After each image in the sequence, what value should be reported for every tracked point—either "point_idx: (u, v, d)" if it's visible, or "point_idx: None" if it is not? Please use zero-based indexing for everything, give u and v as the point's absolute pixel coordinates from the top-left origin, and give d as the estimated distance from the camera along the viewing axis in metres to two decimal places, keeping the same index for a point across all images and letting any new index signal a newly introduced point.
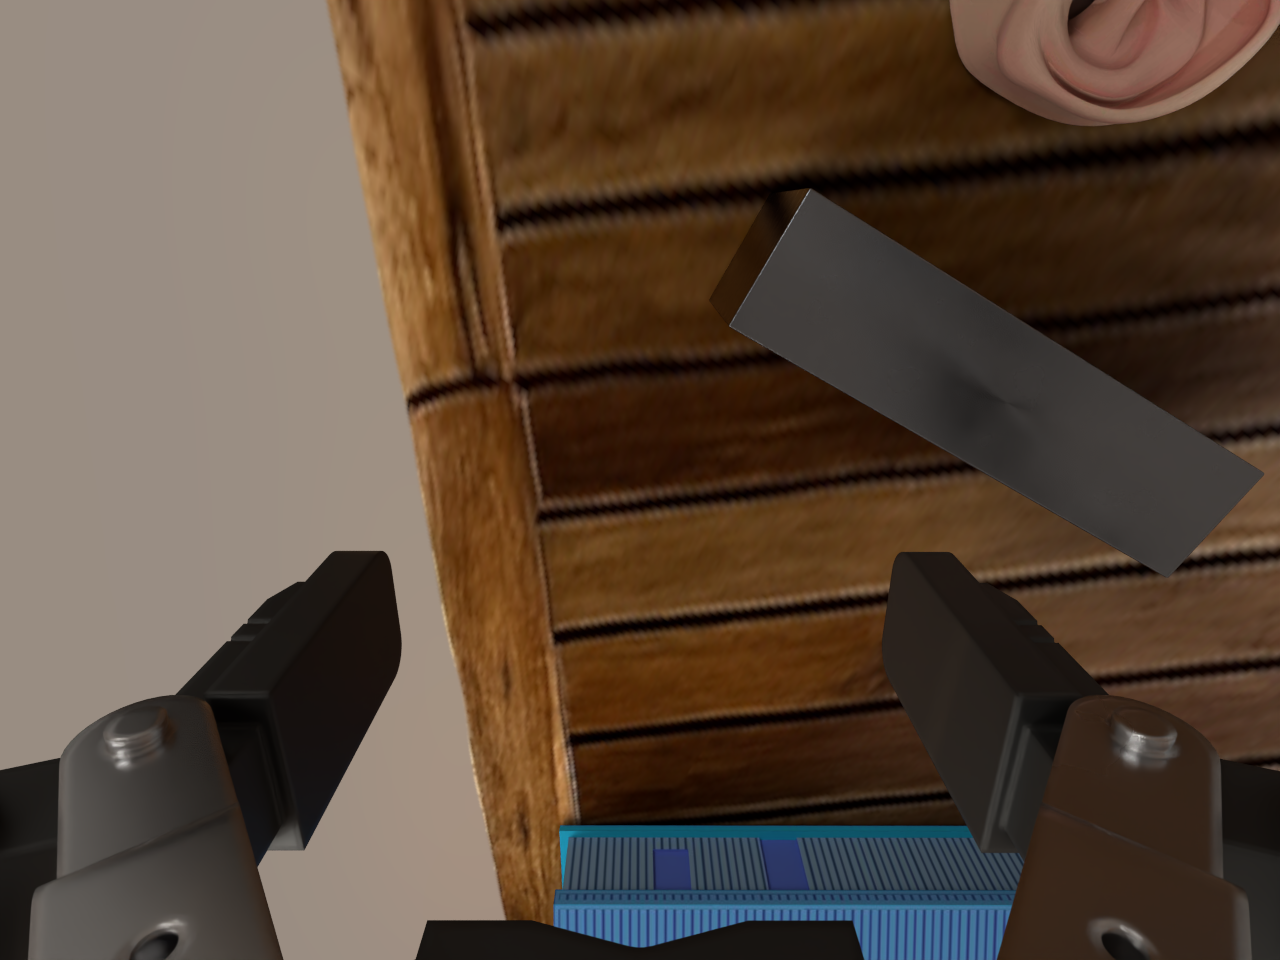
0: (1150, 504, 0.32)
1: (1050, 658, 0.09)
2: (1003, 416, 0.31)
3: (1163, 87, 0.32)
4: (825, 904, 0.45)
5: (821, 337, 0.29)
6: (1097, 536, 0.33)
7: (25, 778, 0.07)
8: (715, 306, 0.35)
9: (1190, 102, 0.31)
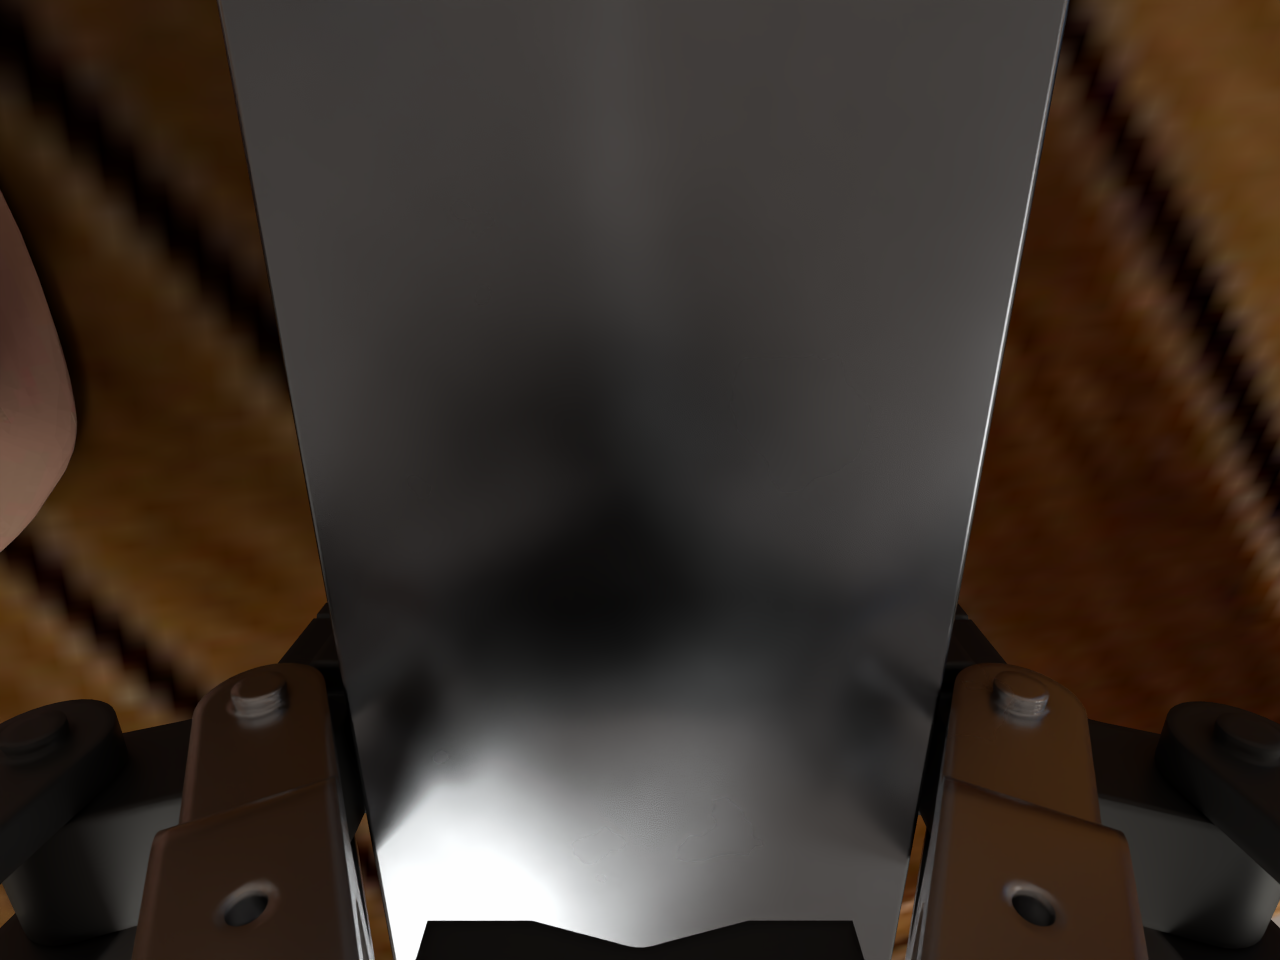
0: None
1: (961, 633, 0.09)
2: None
3: None
4: None
5: (786, 785, 0.08)
6: None
7: (153, 739, 0.07)
8: None
9: None
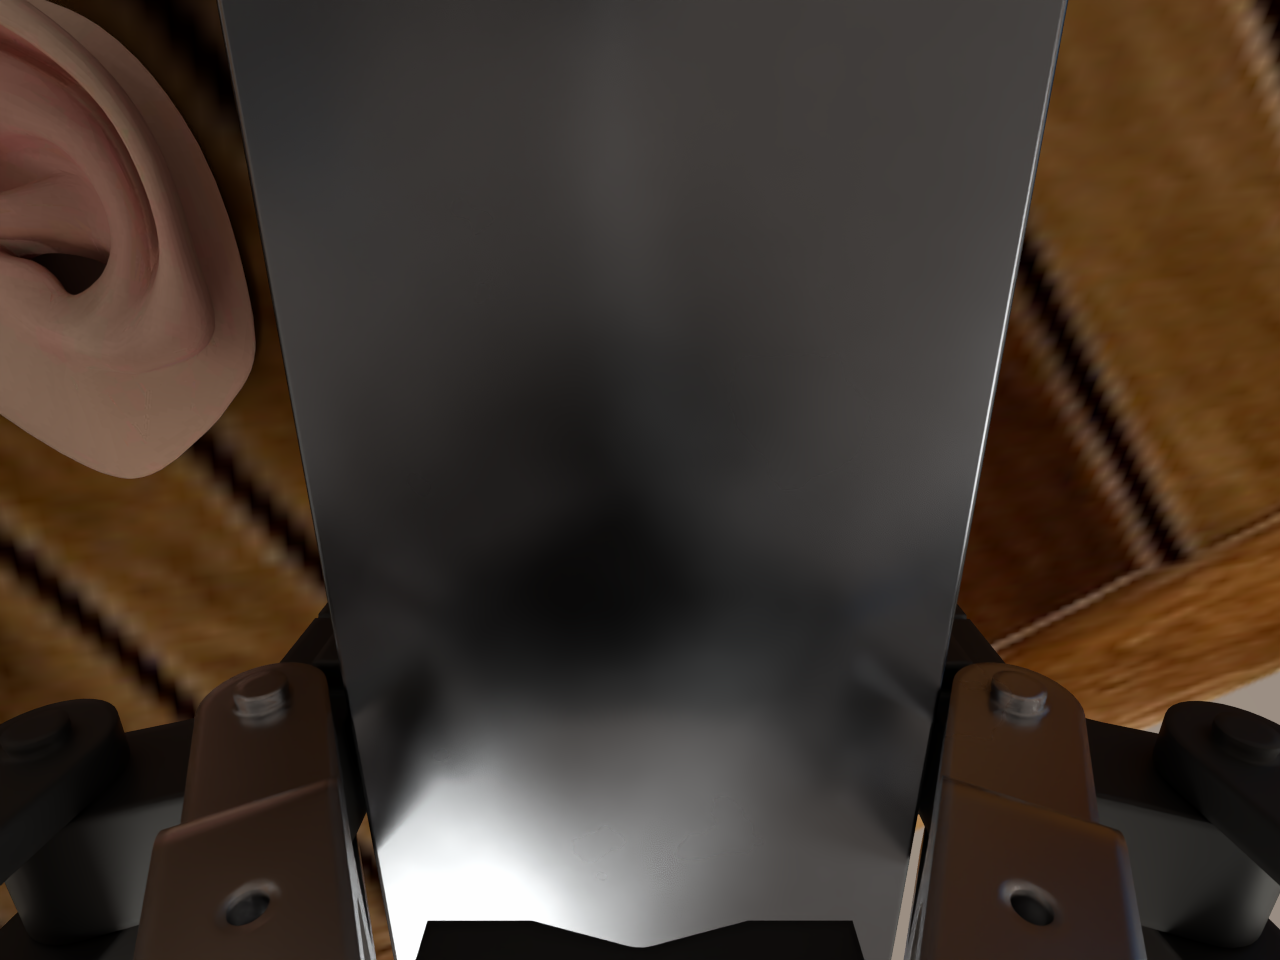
0: None
1: (959, 633, 0.09)
2: None
3: (27, 47, 0.17)
4: None
5: (787, 785, 0.08)
6: None
7: (154, 739, 0.07)
8: None
9: None
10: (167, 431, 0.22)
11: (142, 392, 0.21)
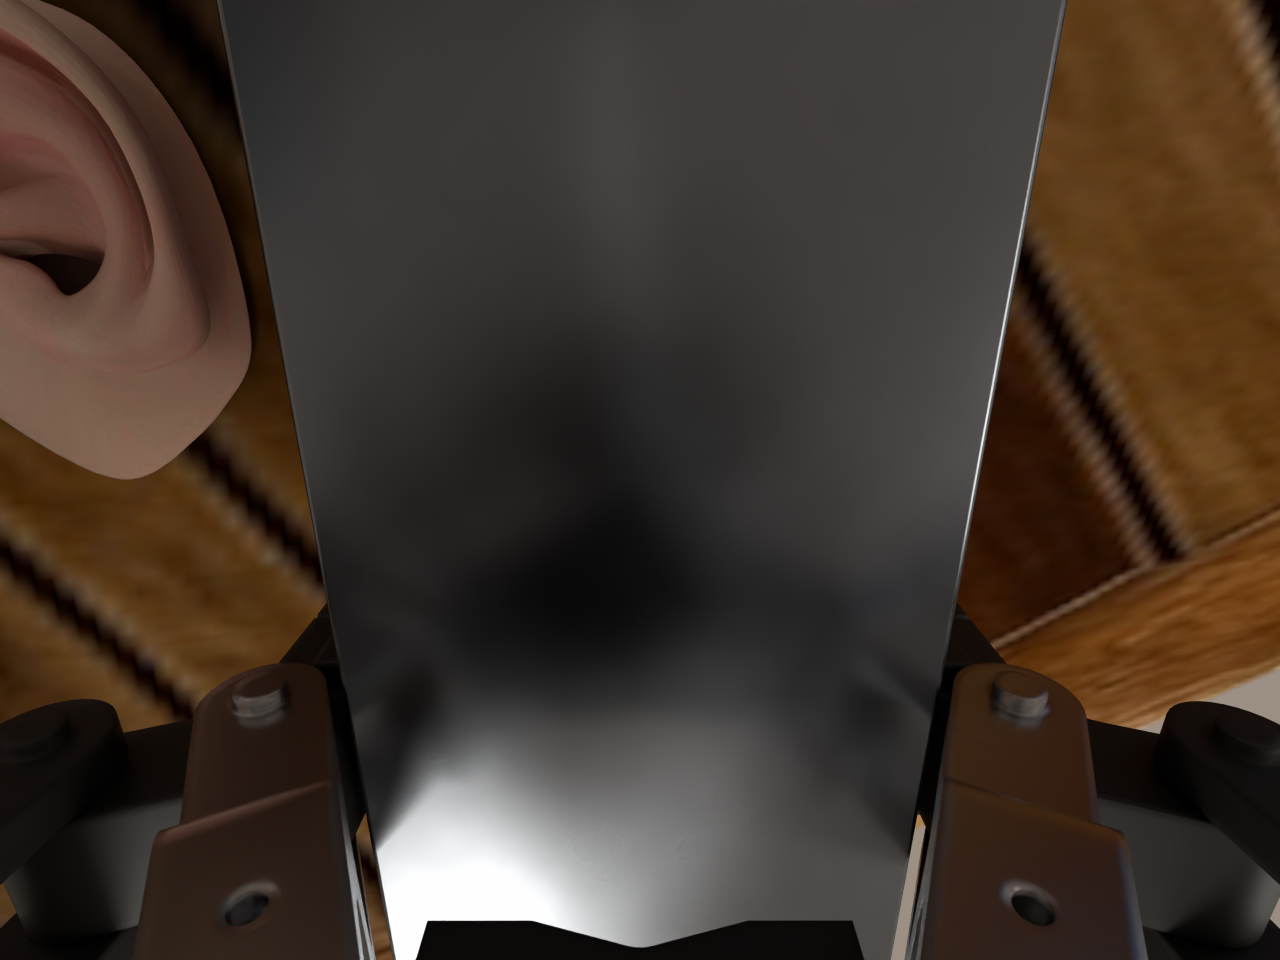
0: None
1: (960, 633, 0.09)
2: None
3: (21, 47, 0.17)
4: None
5: (786, 784, 0.08)
6: None
7: (154, 739, 0.07)
8: None
9: None
10: (163, 432, 0.22)
11: (138, 393, 0.21)
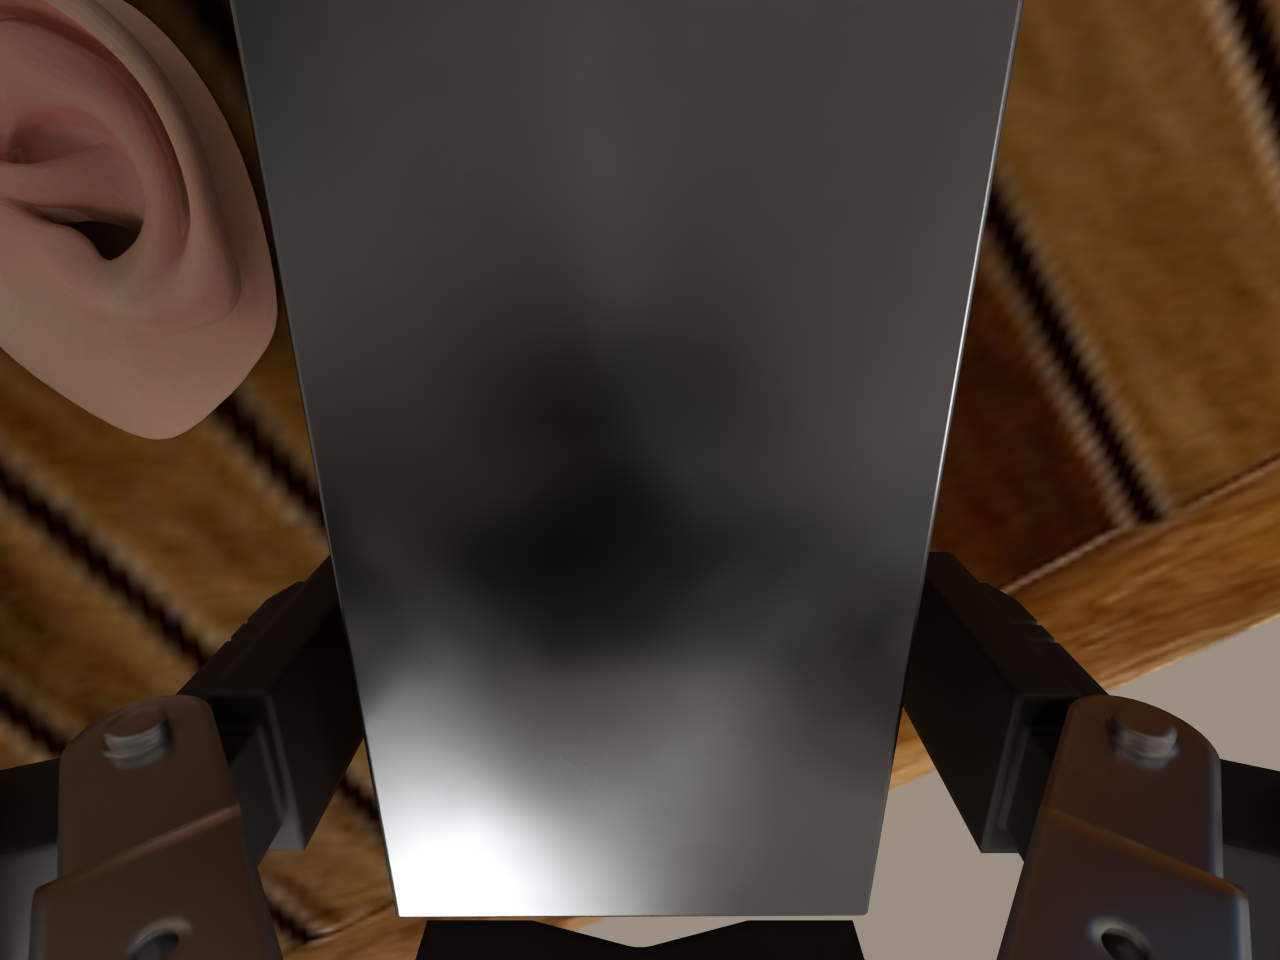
0: None
1: (1050, 658, 0.09)
2: None
3: (69, 25, 0.19)
4: None
5: (772, 687, 0.08)
6: None
7: (25, 777, 0.07)
8: None
9: None
10: (194, 393, 0.24)
11: (171, 354, 0.23)
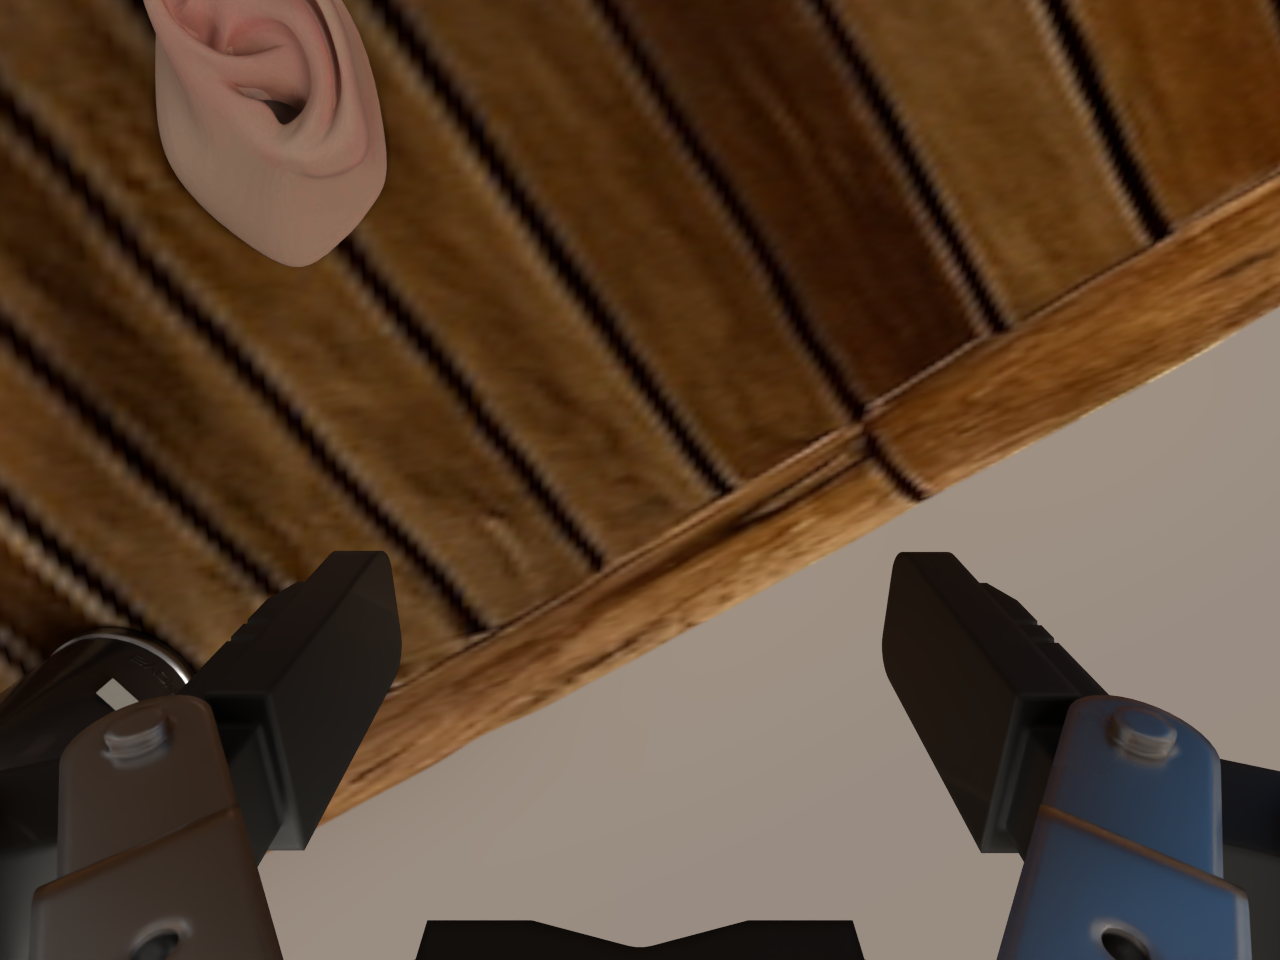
0: None
1: (1050, 658, 0.09)
2: None
3: None
4: None
5: None
6: None
7: (24, 778, 0.07)
8: None
9: None
10: (327, 228, 0.34)
11: (316, 197, 0.33)
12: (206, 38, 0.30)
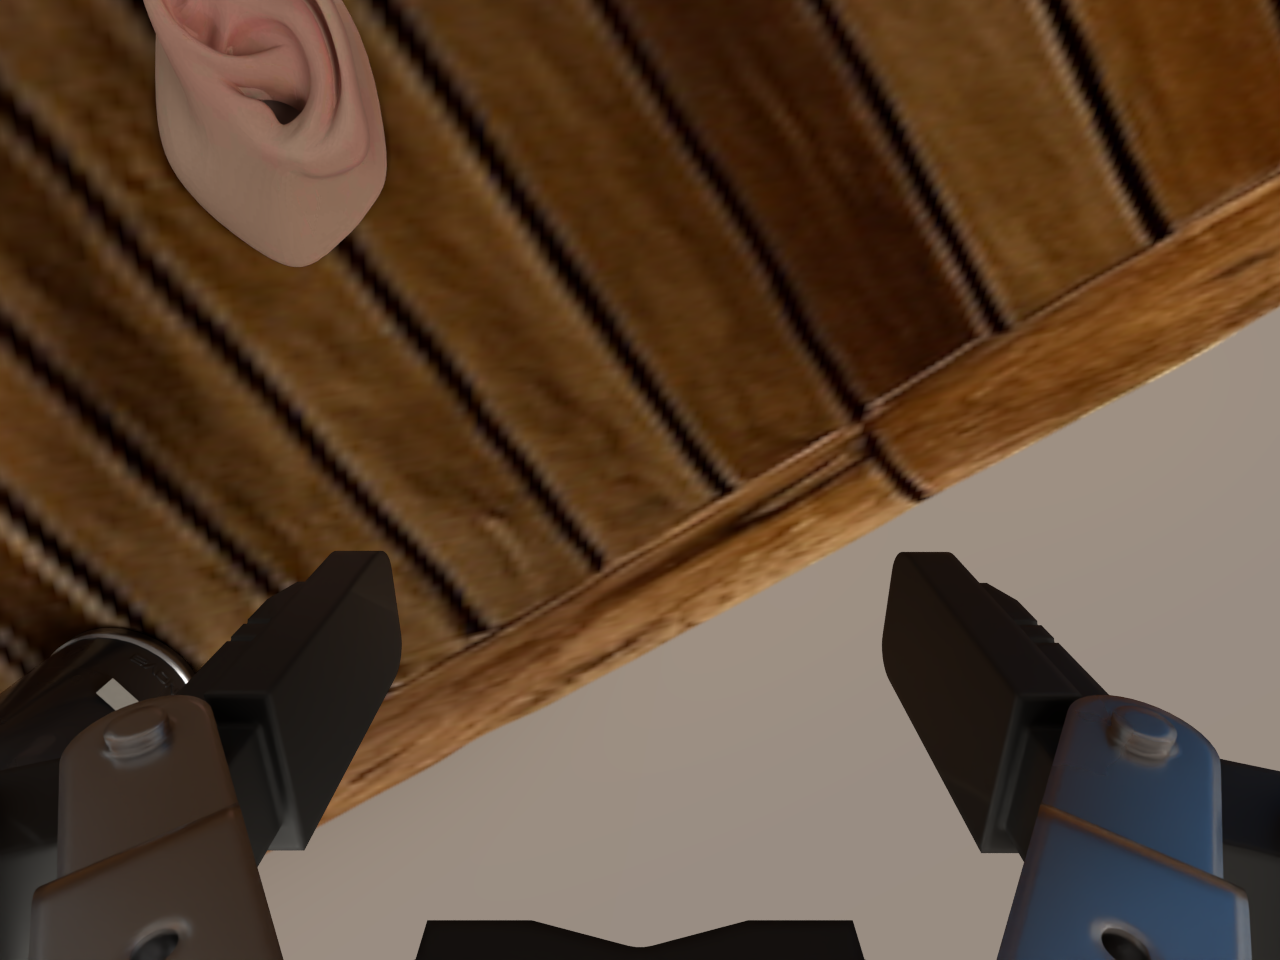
0: None
1: (1050, 658, 0.09)
2: None
3: None
4: None
5: None
6: None
7: (24, 778, 0.07)
8: None
9: None
10: (327, 228, 0.34)
11: (316, 197, 0.33)
12: (206, 38, 0.30)
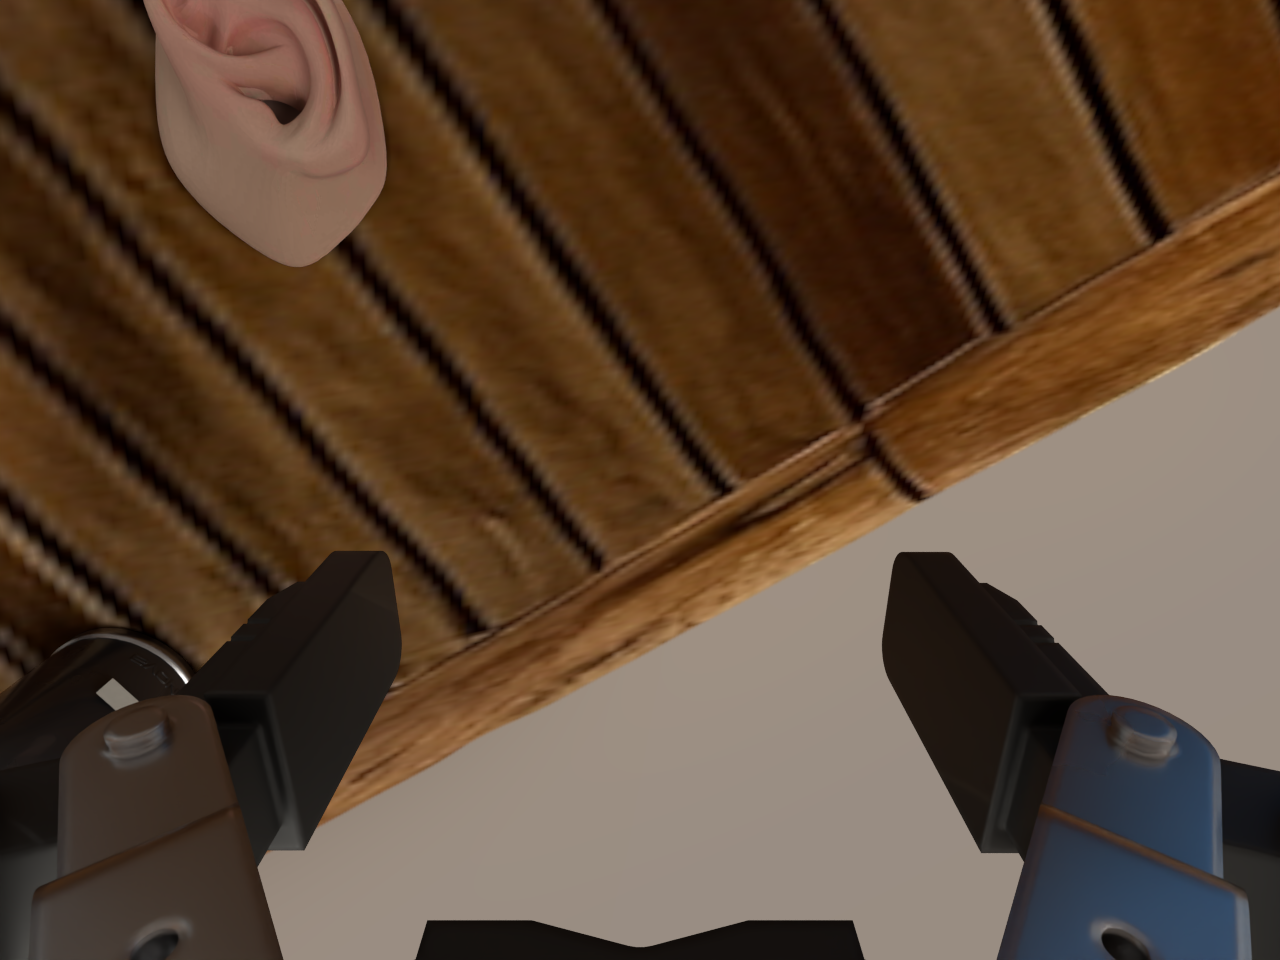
0: None
1: (1050, 658, 0.09)
2: None
3: None
4: None
5: None
6: None
7: (24, 778, 0.07)
8: None
9: None
10: (327, 228, 0.34)
11: (316, 197, 0.33)
12: (206, 38, 0.30)
